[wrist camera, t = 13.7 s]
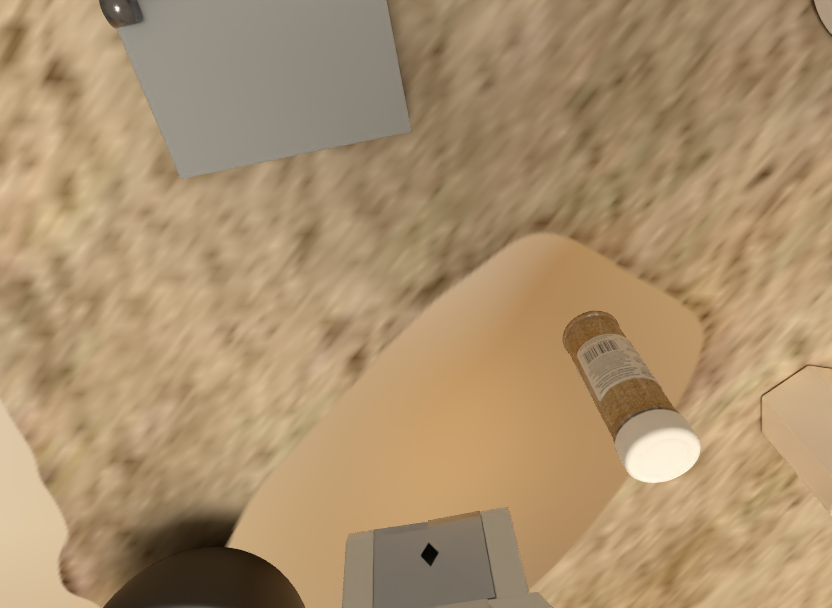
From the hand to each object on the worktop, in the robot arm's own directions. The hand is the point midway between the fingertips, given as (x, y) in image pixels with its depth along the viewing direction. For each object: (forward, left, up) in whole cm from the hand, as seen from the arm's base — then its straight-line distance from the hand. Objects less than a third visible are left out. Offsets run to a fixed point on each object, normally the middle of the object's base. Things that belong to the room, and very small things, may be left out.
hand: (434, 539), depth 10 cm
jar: (-31, +30, -29) cm, 52 cm away
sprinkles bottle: (-12, +18, -29) cm, 36 cm away
